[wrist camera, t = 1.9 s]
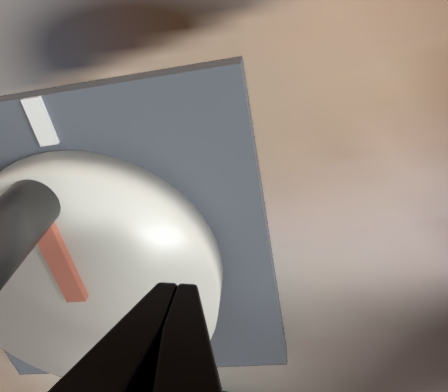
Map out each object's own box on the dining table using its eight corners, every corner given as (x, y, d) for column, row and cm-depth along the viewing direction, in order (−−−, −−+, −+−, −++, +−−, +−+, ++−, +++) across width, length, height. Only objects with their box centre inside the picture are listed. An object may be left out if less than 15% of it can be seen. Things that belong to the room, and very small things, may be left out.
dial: (192, 132, 14) (139, 261, 8) (241, 344, 20) (230, 514, 14) (-77, 168, 16) (-277, 296, 10) (35, 353, 22) (-54, 507, 16)
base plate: (242, 56, 14) (240, 64, 13) (286, 347, 22) (287, 367, 21) (-133, 118, 17) (-159, 128, 16) (20, 359, 24) (10, 377, 23)
